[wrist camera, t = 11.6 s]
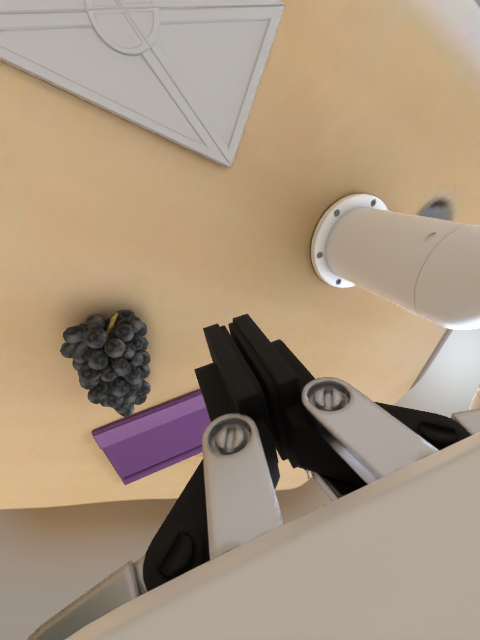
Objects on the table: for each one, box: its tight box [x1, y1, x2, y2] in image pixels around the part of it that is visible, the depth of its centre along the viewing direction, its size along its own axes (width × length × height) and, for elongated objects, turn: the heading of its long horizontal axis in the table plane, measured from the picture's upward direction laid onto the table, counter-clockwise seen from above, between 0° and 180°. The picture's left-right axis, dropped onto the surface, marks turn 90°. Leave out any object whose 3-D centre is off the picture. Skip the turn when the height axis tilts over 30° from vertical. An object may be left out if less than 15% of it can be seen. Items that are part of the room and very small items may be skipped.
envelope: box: [0, 0, 285, 167], centre depth 24 cm, size 24×2×14 cm
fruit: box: [60, 310, 151, 417], centre depth 34 cm, size 9×8×15 cm
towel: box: [92, 389, 211, 485], centre depth 46 cm, size 20×12×1 cm, turn 101°
